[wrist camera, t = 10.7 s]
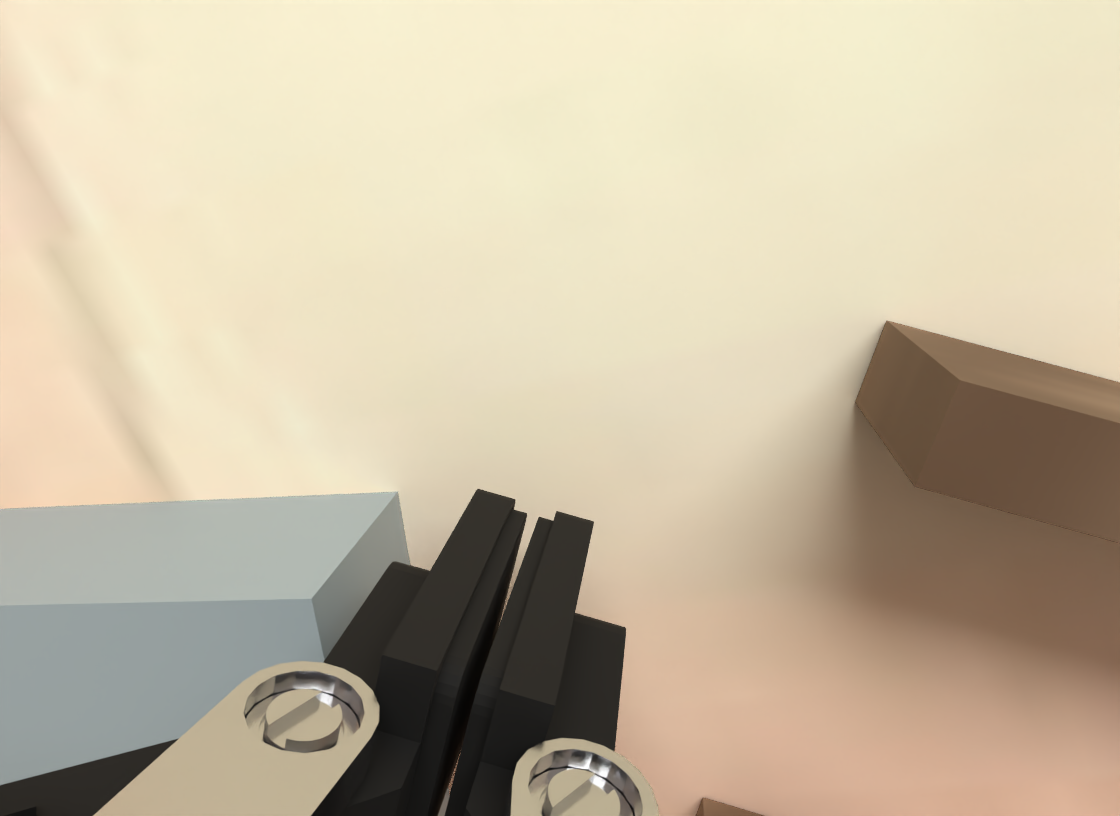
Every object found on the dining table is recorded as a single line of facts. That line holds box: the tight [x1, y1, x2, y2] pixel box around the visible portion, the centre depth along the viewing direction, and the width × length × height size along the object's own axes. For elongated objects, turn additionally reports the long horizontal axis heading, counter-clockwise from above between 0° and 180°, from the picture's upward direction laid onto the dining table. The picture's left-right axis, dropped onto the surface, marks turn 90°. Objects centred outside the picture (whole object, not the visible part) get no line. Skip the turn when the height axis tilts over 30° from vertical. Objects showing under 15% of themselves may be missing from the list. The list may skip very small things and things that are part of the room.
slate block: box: [0, 492, 450, 816], centre depth 13 cm, size 8×6×4 cm
